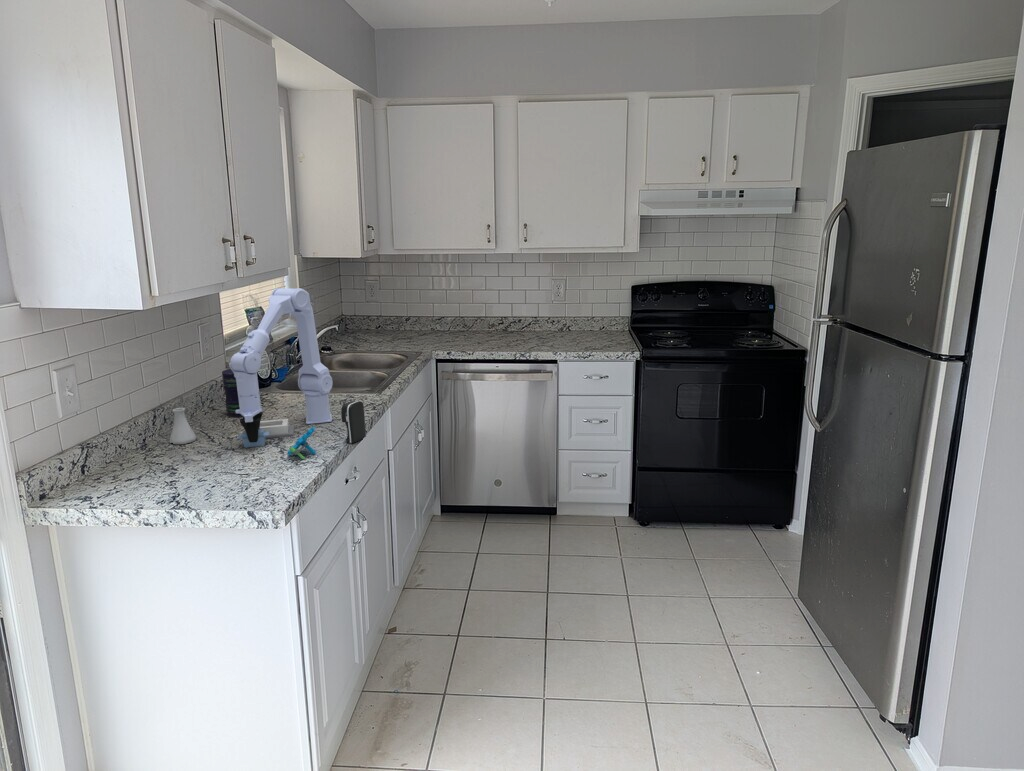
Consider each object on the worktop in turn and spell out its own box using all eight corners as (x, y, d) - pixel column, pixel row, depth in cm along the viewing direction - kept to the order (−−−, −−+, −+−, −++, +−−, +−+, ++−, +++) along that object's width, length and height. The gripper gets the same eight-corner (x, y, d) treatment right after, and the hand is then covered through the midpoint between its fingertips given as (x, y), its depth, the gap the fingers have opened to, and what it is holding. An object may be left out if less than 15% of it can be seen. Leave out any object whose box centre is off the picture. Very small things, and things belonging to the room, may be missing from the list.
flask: (202, 438, 210) (197, 406, 208) (184, 446, 203) (180, 412, 201) (181, 437, 212) (177, 405, 210) (164, 444, 205) (159, 411, 203)
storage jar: (220, 417, 233) (214, 373, 230) (238, 409, 242) (233, 367, 239) (246, 418, 231) (241, 374, 227) (264, 410, 240) (259, 367, 236)
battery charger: (356, 436, 207) (352, 398, 205) (366, 437, 206) (363, 399, 203) (341, 443, 201) (338, 404, 199) (352, 444, 200) (349, 405, 197)
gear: (298, 441, 198) (317, 420, 194) (314, 455, 199) (333, 434, 194) (277, 459, 188) (296, 437, 184) (294, 474, 189) (313, 452, 184)
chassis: (250, 431, 216) (249, 421, 215) (294, 426, 219) (293, 417, 218) (247, 440, 206) (246, 430, 206) (293, 435, 210) (292, 425, 209)
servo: (240, 444, 203) (238, 431, 202) (270, 441, 205) (268, 428, 204) (238, 448, 200) (237, 434, 199) (269, 444, 202) (268, 431, 201)
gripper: (236, 389, 205) (242, 434, 208) (230, 401, 191) (236, 448, 194) (262, 387, 206) (267, 431, 210) (257, 399, 193) (263, 446, 196)
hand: (254, 439), depth 202 cm, fingers closed on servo, 4 cm apart
